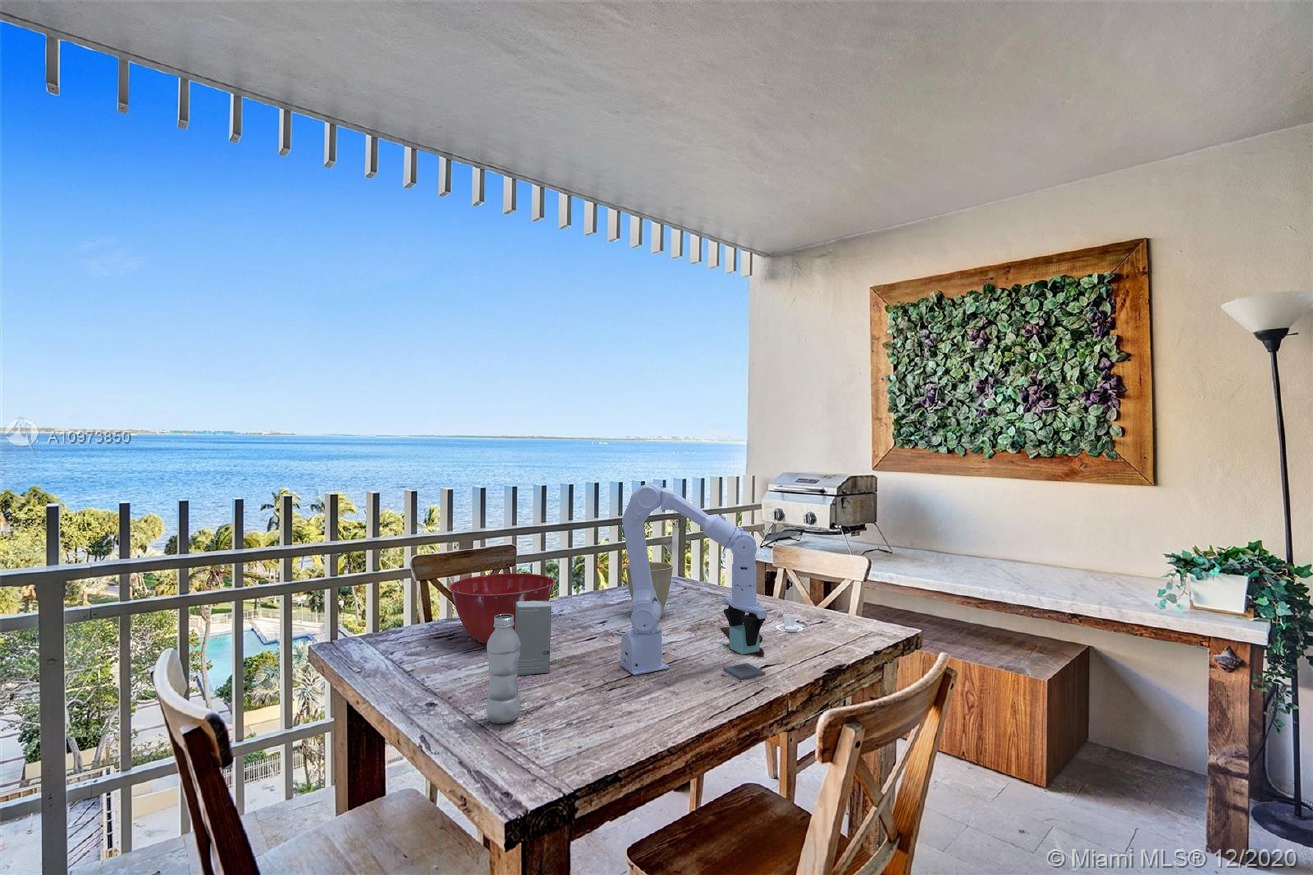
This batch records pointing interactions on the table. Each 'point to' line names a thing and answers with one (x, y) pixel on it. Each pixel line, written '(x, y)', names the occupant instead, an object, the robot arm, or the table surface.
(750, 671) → the slate coaster
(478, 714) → the table surface
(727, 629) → the dark brown lumpy figure
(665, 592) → the plant pot
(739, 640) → the teal cube
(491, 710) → the plastic bottle
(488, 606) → the mixing bowl
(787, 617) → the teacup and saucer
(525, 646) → the skincare box
